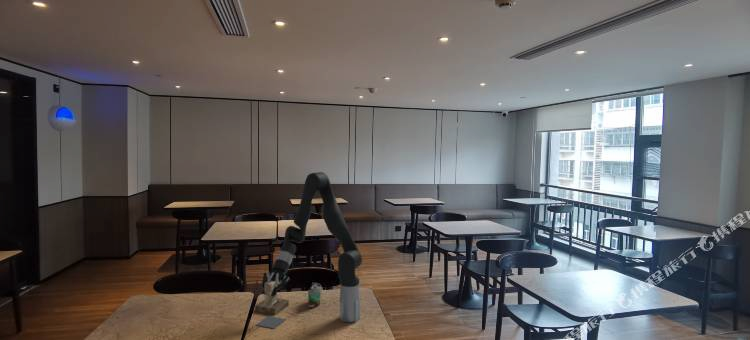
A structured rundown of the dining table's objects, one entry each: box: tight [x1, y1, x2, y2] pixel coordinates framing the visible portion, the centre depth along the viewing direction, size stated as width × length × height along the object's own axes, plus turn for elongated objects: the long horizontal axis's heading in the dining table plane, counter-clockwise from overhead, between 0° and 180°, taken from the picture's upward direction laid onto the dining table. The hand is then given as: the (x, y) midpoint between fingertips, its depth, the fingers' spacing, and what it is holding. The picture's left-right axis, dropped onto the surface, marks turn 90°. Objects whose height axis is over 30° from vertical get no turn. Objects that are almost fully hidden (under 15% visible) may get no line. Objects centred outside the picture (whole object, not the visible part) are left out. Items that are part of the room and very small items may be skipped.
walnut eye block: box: [254, 297, 289, 315], centre depth 196 cm, size 12×12×3 cm
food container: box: [307, 282, 323, 309], centre depth 201 cm, size 12×6×10 cm, turn 179°
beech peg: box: [264, 281, 278, 305], centre depth 179 cm, size 4×4×10 cm
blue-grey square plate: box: [255, 315, 287, 330], centre depth 180 cm, size 10×10×1 cm
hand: (268, 295), depth 178 cm, fingers closed on beech peg, 4 cm apart
